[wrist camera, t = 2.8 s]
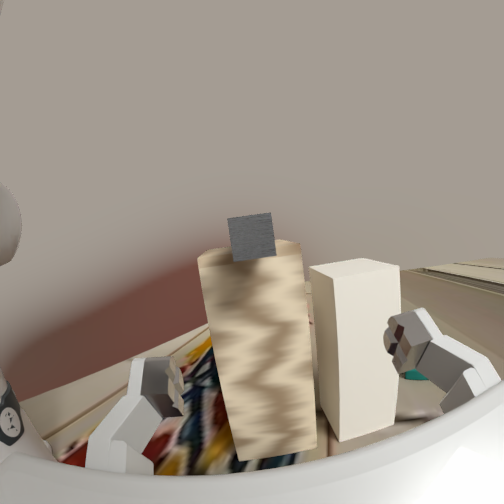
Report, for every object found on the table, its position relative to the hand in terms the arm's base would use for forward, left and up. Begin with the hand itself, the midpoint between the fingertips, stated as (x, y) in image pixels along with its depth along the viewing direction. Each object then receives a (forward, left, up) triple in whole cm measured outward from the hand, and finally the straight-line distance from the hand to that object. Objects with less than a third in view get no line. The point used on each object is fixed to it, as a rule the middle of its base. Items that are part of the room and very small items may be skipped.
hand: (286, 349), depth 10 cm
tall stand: (0, +25, -24) cm, 34 cm away
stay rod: (0, +21, +2) cm, 21 cm away
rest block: (+12, +24, -24) cm, 35 cm away
